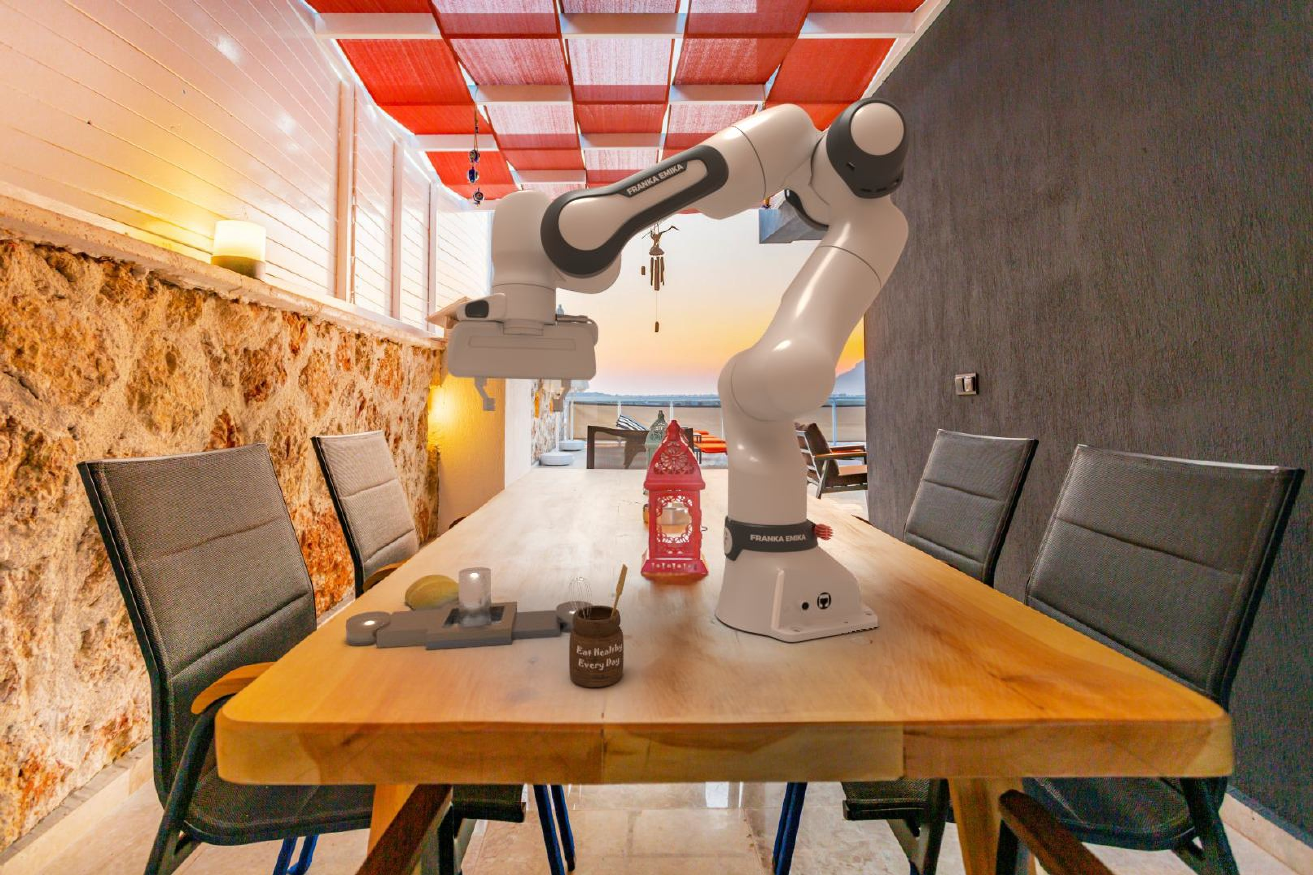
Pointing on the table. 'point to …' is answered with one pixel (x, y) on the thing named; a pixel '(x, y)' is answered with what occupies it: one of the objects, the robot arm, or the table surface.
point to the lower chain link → (521, 627)
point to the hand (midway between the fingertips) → (523, 411)
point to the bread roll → (432, 593)
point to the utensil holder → (597, 642)
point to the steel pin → (475, 597)
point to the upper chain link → (423, 626)
